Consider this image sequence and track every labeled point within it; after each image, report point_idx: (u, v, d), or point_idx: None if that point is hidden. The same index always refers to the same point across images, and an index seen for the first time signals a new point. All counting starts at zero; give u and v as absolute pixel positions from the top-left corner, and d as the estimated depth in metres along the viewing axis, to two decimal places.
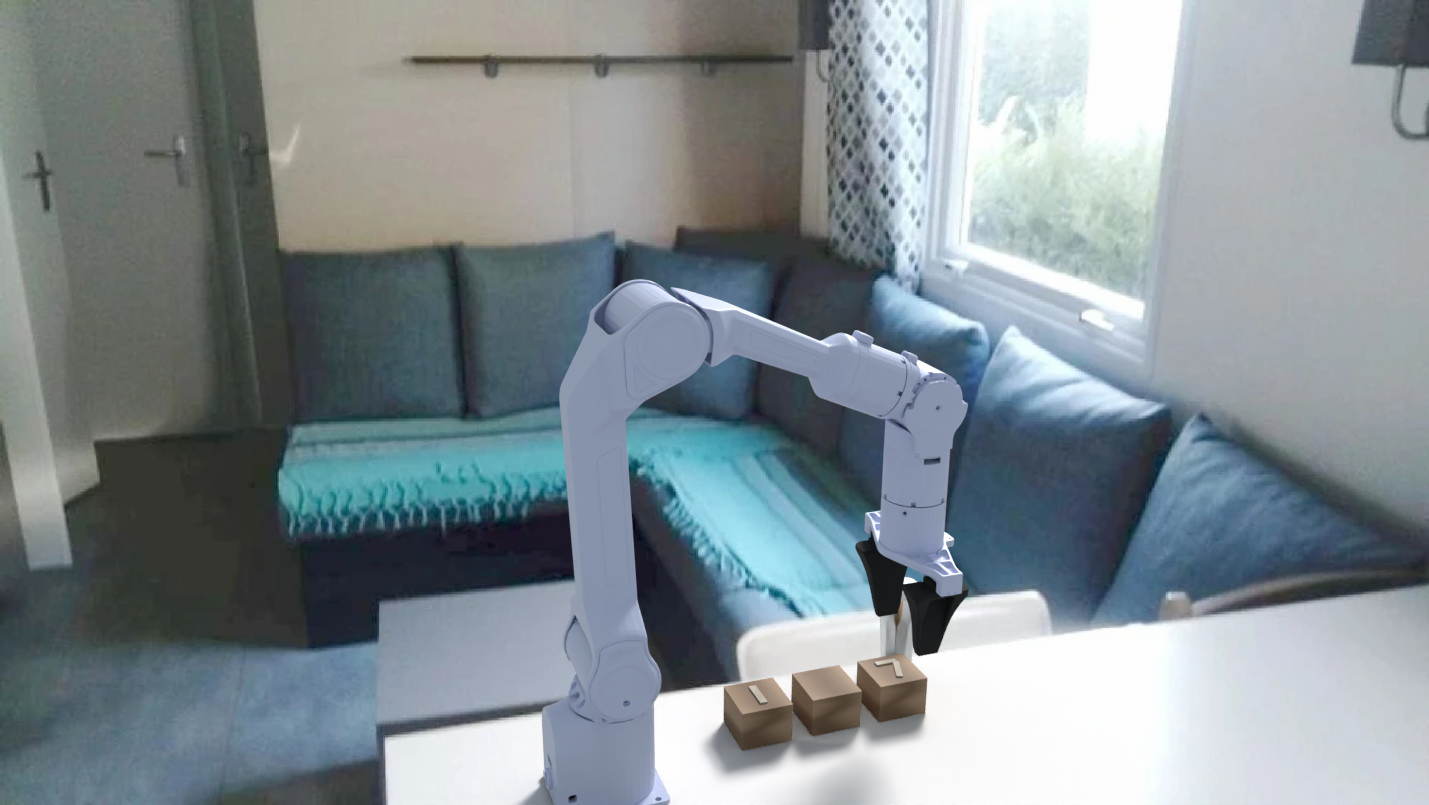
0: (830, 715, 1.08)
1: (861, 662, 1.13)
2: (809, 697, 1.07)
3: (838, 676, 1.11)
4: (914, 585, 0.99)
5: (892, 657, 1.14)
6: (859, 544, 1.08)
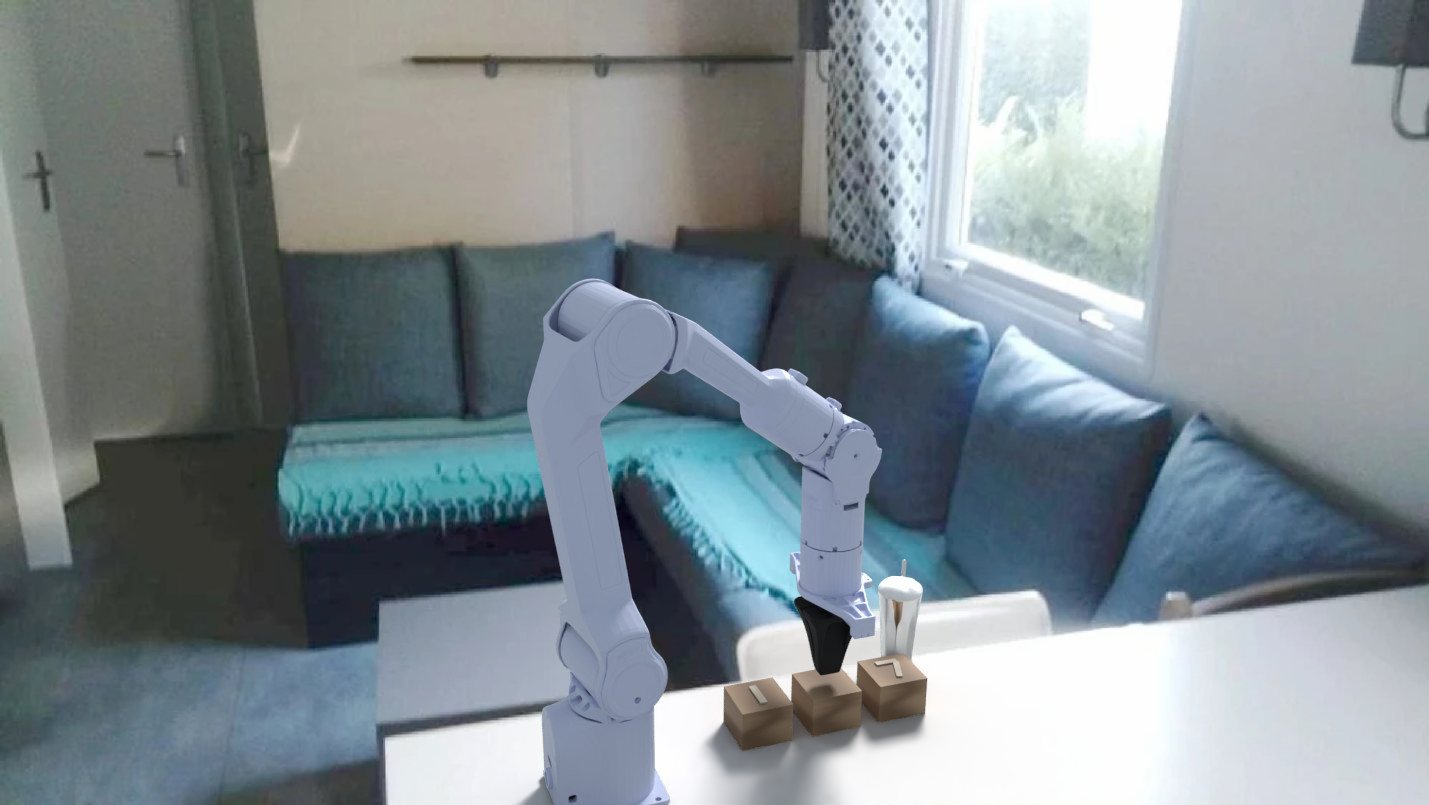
0: (831, 715, 1.08)
1: (861, 662, 1.13)
2: (809, 697, 1.07)
3: (838, 675, 1.11)
4: (814, 609, 1.06)
5: (892, 657, 1.14)
6: (798, 599, 1.08)
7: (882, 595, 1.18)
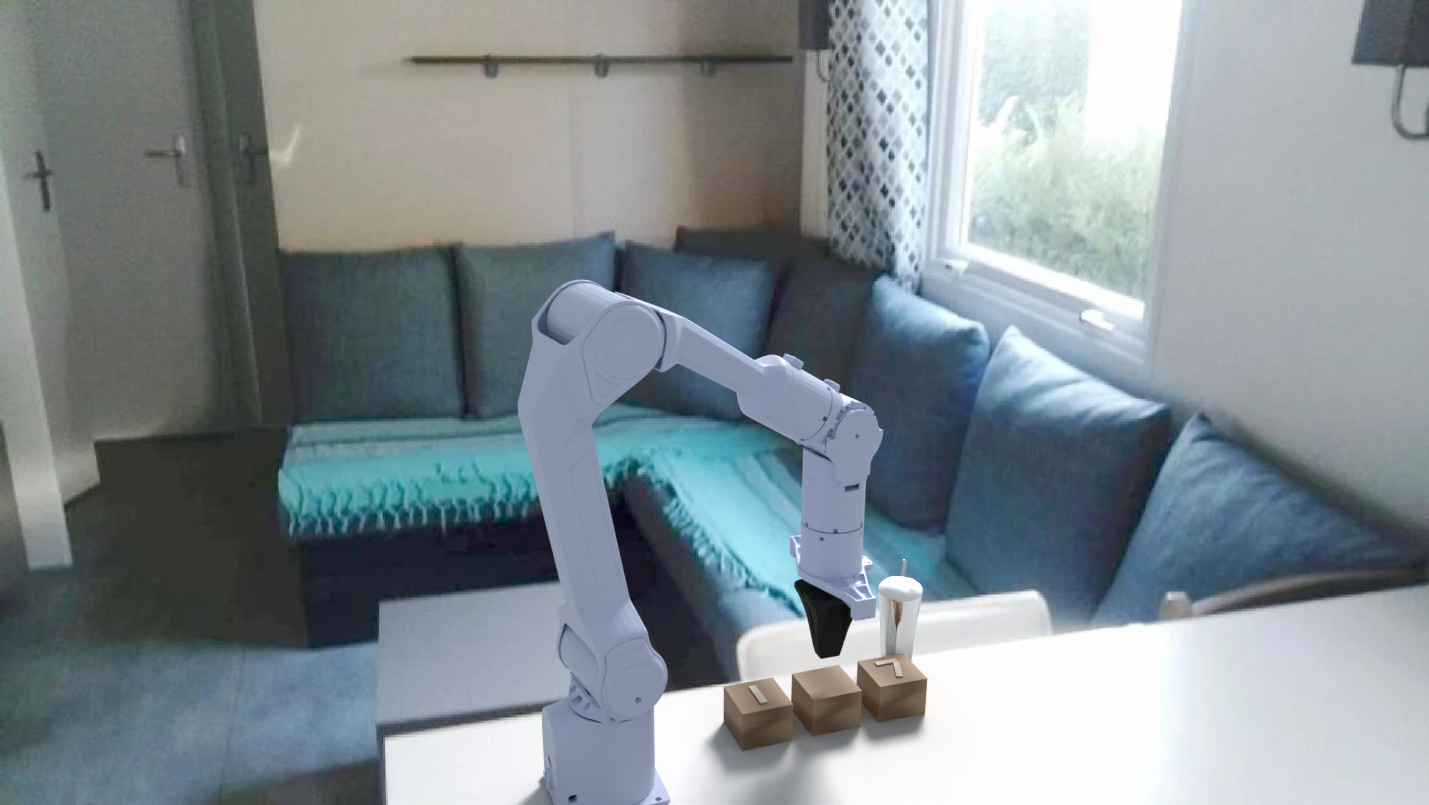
0: (831, 715, 1.08)
1: (861, 662, 1.13)
2: (809, 697, 1.07)
3: (838, 675, 1.11)
4: (814, 592, 1.05)
5: (892, 657, 1.14)
6: (798, 582, 1.08)
7: (882, 595, 1.18)
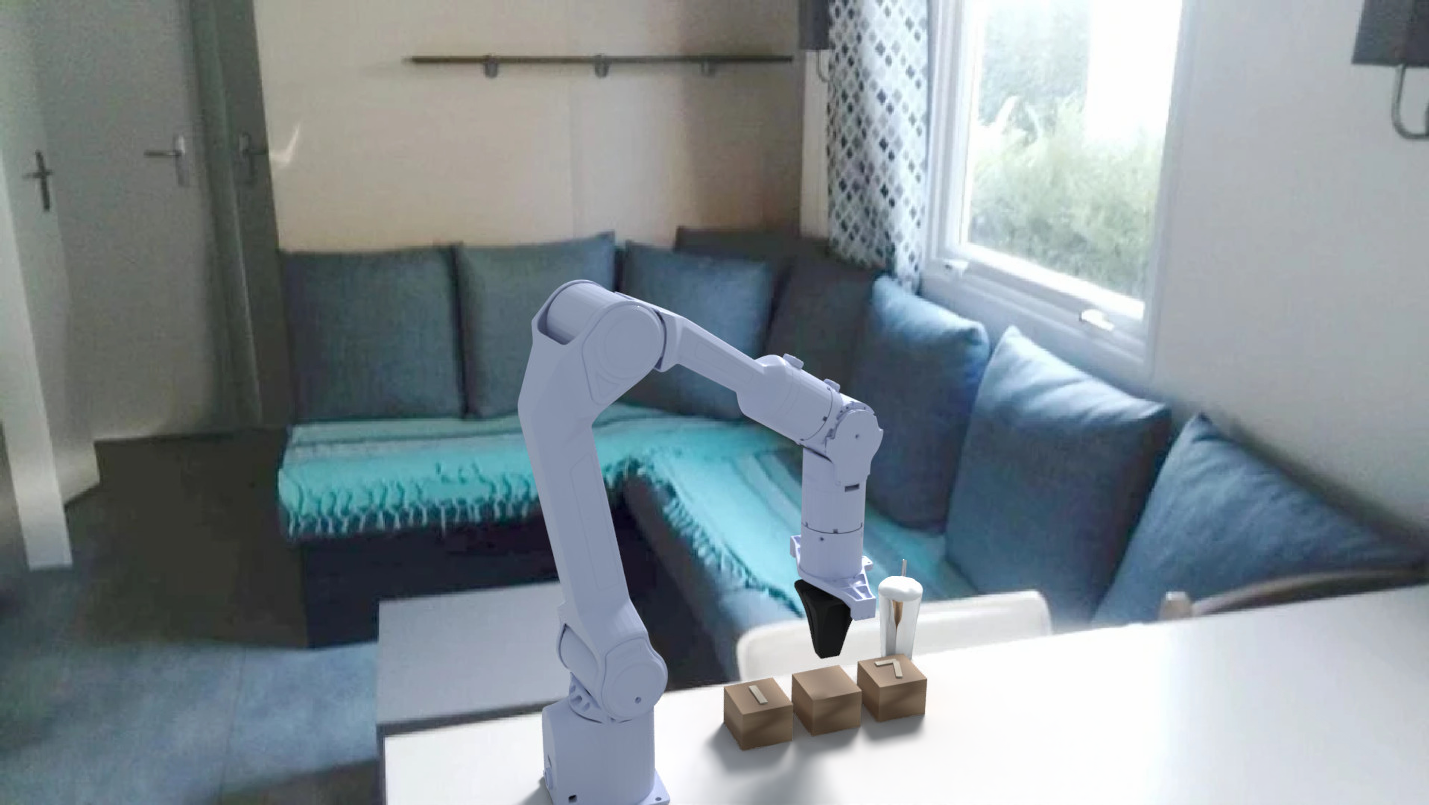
0: (830, 715, 1.08)
1: (861, 662, 1.13)
2: (809, 697, 1.07)
3: (838, 675, 1.11)
4: (814, 592, 1.05)
5: (892, 657, 1.14)
6: (798, 582, 1.08)
7: (882, 595, 1.18)
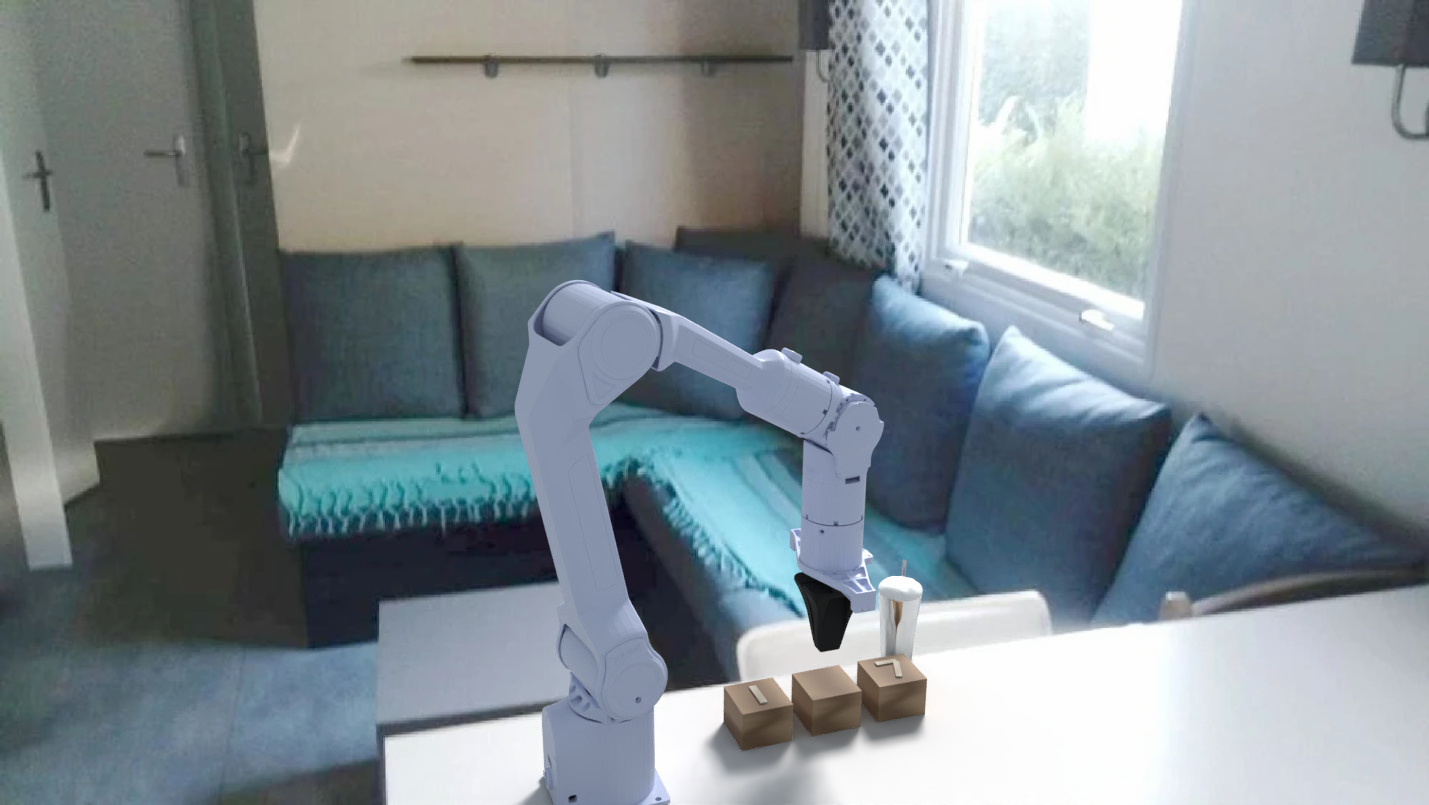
0: (830, 715, 1.08)
1: (861, 662, 1.13)
2: (808, 697, 1.07)
3: (838, 675, 1.11)
4: (814, 585, 1.05)
5: (892, 657, 1.14)
6: (798, 575, 1.07)
7: (882, 595, 1.18)
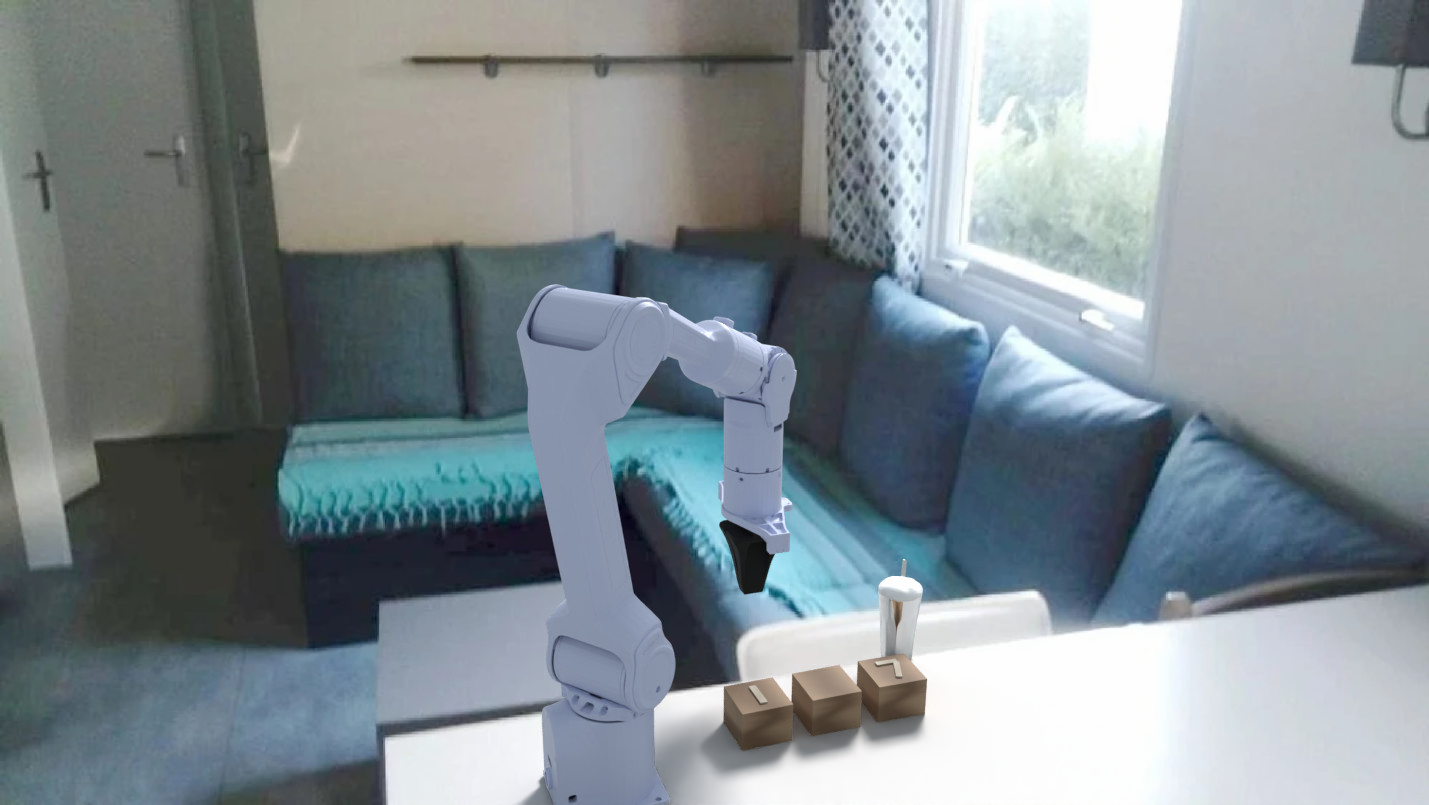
0: (830, 715, 1.08)
1: (861, 662, 1.13)
2: (808, 697, 1.07)
3: (839, 675, 1.11)
4: (736, 530, 1.12)
5: (893, 657, 1.14)
6: (723, 522, 1.14)
7: (882, 595, 1.18)
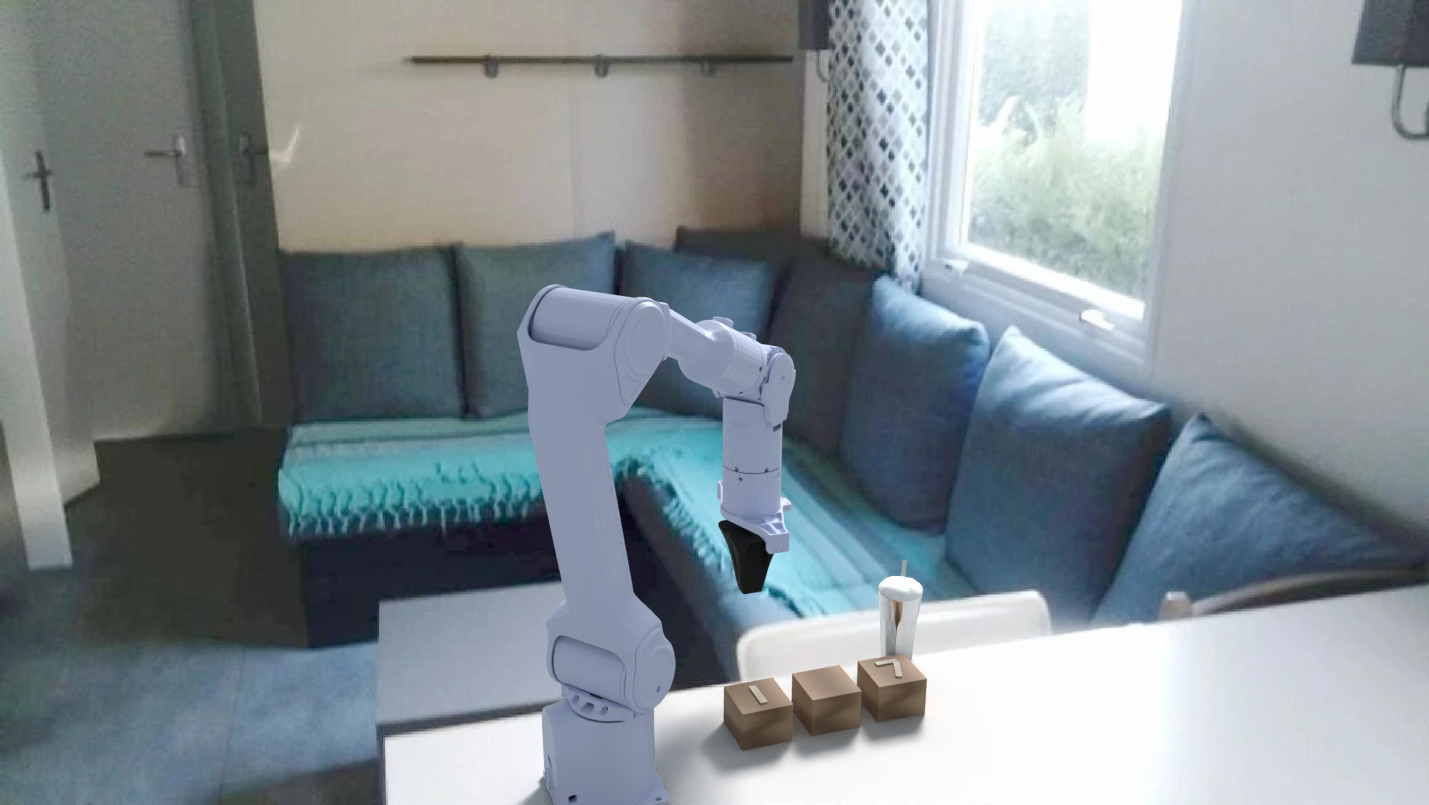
0: (830, 715, 1.08)
1: (861, 662, 1.13)
2: (808, 697, 1.07)
3: (839, 675, 1.11)
4: (736, 530, 1.12)
5: (893, 657, 1.14)
6: (722, 522, 1.15)
7: (882, 595, 1.18)
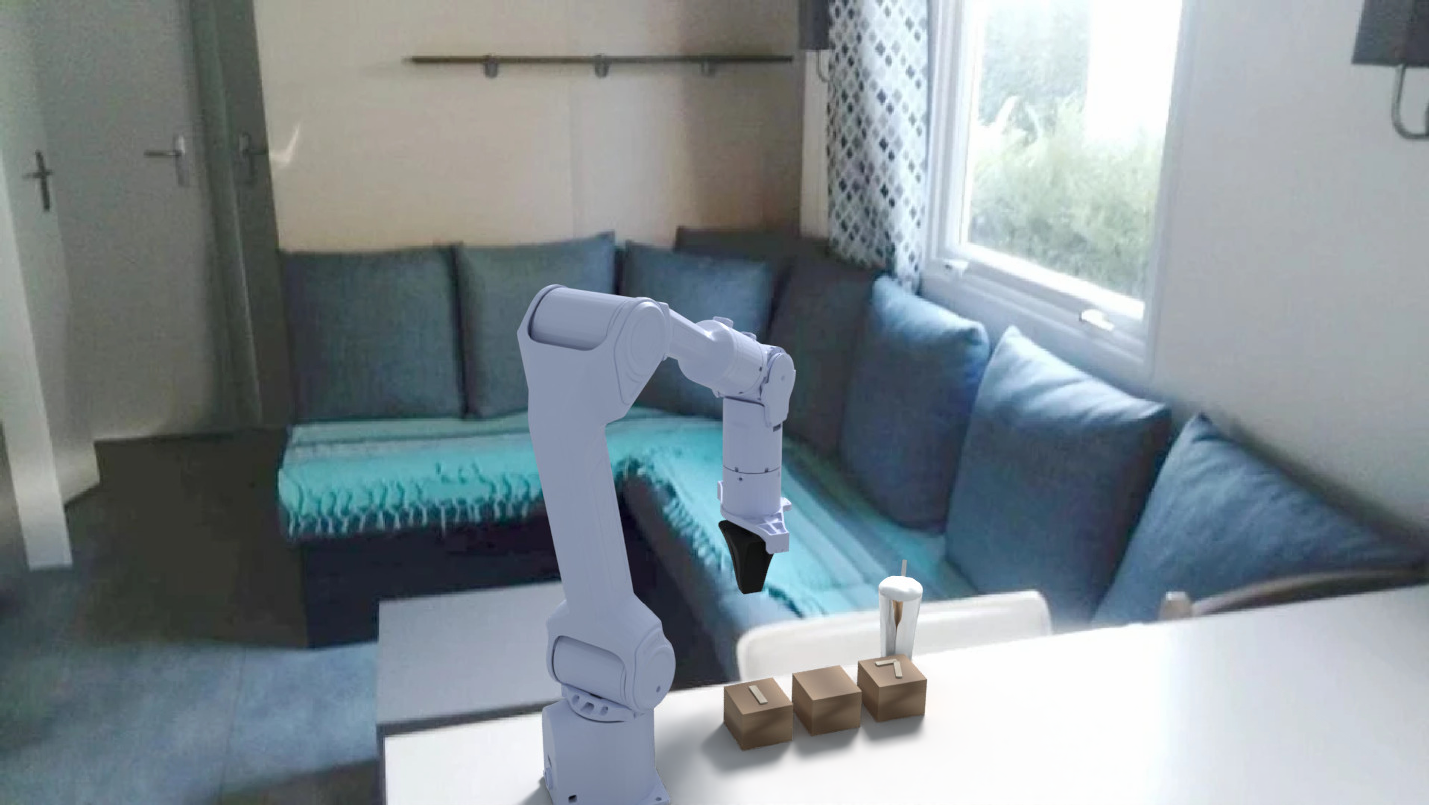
0: (830, 715, 1.08)
1: (862, 662, 1.13)
2: (808, 697, 1.07)
3: (839, 676, 1.11)
4: (736, 530, 1.12)
5: (893, 657, 1.14)
6: (722, 522, 1.15)
7: (882, 595, 1.18)
